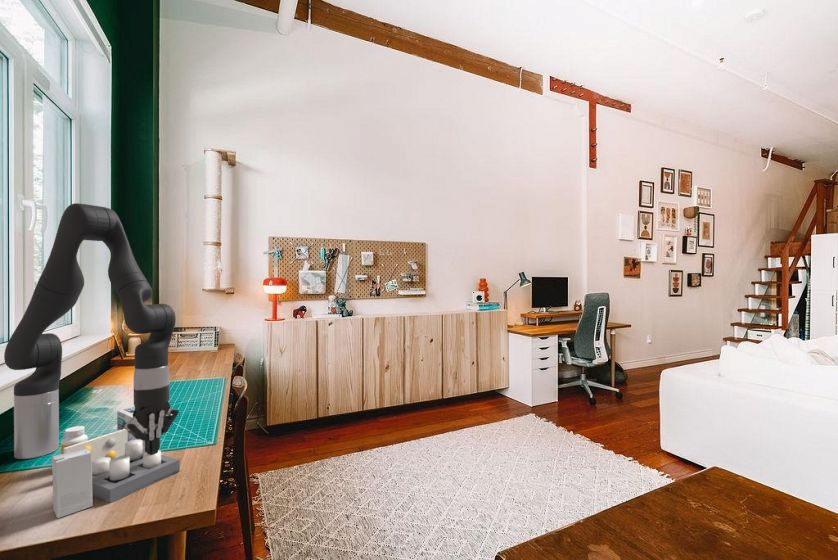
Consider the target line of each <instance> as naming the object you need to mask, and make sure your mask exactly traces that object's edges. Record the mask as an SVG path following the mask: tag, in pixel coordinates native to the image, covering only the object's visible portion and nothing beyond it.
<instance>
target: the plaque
mask: <svg viewBox="0 0 838 560" xmlns="http://www.w3.org/2000/svg"><path fill="white" fill-rule="evenodd" d="M126 442H128V433H127V430H126V429H123V430H119V431H117V430H116V431H113V432H111V433H107V434H104V435H100V436H98V437H95V438H92V439H88V441H85V442H81V443H78V444H75V445H72V446H69V447H66V448H64V453H68V452H72V451H75V450H79V449H83V448H88V450H89V451H90V452H91V462H92V461H93V460H96V459H99V458H103V457H109V458H111V459H114V458H117V457H119V456H122V455H125V443H126Z"/></svg>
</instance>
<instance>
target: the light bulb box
mask: <svg viewBox="0 0 838 560" xmlns="http://www.w3.org/2000/svg"><path fill="white" fill-rule="evenodd" d="M134 410H135V407H134V406H133V407H128V408H125V409H120V410H117V413H116V417H117V418H116V425H117V427H116V429H117V430H116V431H119V430H123V429H125V428H124V427H123V424H124V423H128V422H129V421H130V420H131V419H132V418H133V412H134ZM137 424H138V427H137V428H138V429H139V430H141V431H142V429H141V425H140V424H139V423H138V422H137ZM142 432H143V431H142ZM127 433H128V441H132V440H140V439H136V438H135V437H134V436H133V435H132V434H130V433H129V432H128V431H127ZM142 445H143V450H145V440H144V441H143V440H142Z"/></svg>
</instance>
